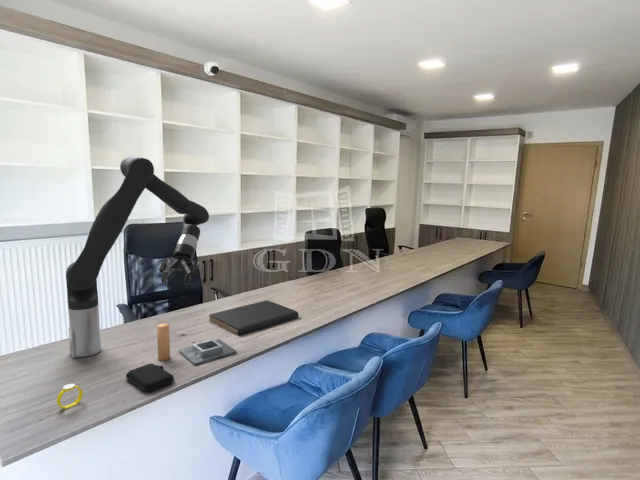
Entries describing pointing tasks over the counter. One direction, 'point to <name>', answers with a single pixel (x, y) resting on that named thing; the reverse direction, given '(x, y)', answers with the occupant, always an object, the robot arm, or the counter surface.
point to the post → (163, 342)
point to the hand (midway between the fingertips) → (174, 283)
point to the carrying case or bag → (150, 377)
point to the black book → (252, 317)
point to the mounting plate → (207, 351)
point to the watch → (68, 388)
